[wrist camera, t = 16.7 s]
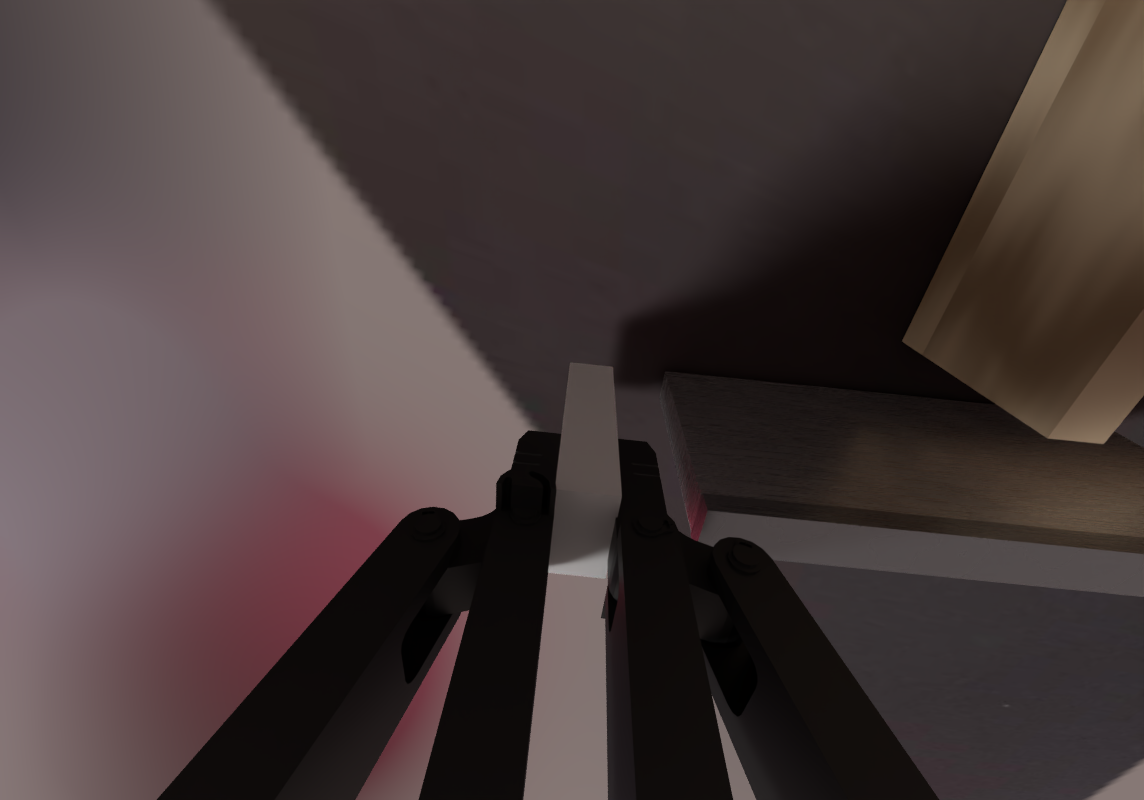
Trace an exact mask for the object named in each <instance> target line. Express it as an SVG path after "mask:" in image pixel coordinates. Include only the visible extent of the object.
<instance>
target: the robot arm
mask: <svg viewBox="0 0 1144 800" xmlns="http://www.w3.org/2000/svg"><path fill="white" fill-rule="evenodd" d="M607 569H608V586H607V591H606V596H605V601H604V606H603V611H602V616H601V618H605V627H606V692H607V757H608V758H607V759H608V800H733V797H732V792H731V787H730V782H729V778H728V772H727V768H726V763H725V758H724V753H723V748H722V743H721V738H720V733H719V729H718V724H717V719H716V714H715V709H714V704H713V699H712V696H713V698H714V700H715V703H716V705H717V708H718V710H719V713H720V715H721V717H722V720H723V722H724V724H725V726H726V729H727V731H728V734H729V736H730V738H731V741H732V743H733V746H734V748H735V750H736V753H737V755H738V757H739V760H740V762H741V764H742V767H743V769H744V771H745V774H746V776H747V779H748V781H749V783H750V785H751V788H752V790H753V793H754V795H755V797H756V800H939V799H938V797H937V796H936V794H935V793H934V791H933V790H932V789H931V787H930V786H929V784H928V783H927V781H926V780H925V778H924V777H923V776H922V774H921V773H920V771H919V770H918V768H917V767H916V765H915V764H914V763H913V761H912V760H911V758H910V757H909V755H908V754H907V753H906V751H905V750H904V748H903V747H902V745H901V744H900V742H899V741H898V740H897V738H896V737H895V735H894V734H893V732H892V731H891V730H890V728H889V727H888V725H887V724H886V722H885V721H884V719H883V718H882V717H881V715H880V714H879V712H878V711H877V709H876V708H875V706H874V705H873V704H872V702H871V701H870V699H869V698H868V696H867V695H866V694H865V692H864V691H863V689H862V688H861V686H860V685H859V683H858V682H857V681H856V679H855V678H854V676H853V675H852V673H851V672H850V671H849V669H848V668H847V666H846V665H845V663H844V662H843V660H842V659H841V658H840V656H839V655H838V653H837V652H836V650H835V649H834V647H833V646H832V645H831V643H830V642H829V640H828V639H827V637H826V636H825V635H824V633H823V632H822V630H821V629H820V627H819V626H818V624H817V623H816V622H815V620H814V619H813V617H812V616H811V614H810V613H809V612H808V610H807V609H806V607H805V606H804V604H803V603H802V601H801V600H800V599H799V597H798V596H797V594H796V593H795V591H794V590H793V588H792V587H791V586H790V584H789V583H788V581H787V580H786V578H785V577H784V576H783V574H782V573H781V571H780V570H779V568H778V567H777V565H776V564H775V563H774V561H773V560H772V558H771V557H770V556H769V555H768V554H767V553H766V552H765V551H764V550H763V549H762V548H761V547H759V546H758V545H756V544H755V543H753V542H751V541H748V540H745V539H742V538H737V537H727V538H724V539H720V540H719V541H718V542H717V543H716V544H715V545H714V547H712V546H710V545H707V544H704V543H701V542H699V541H696V540H694V539H691V538H689V537H687V536H685V535H684V534H682V533H681V532H679V531H678V529H677V527H676V524H675V522H674V521H673V520H672V519H671V518H670V517H669V516H668V515H667V511H666V506H665V500H664V495H663V490H662V484H661V479H660V474H659V468H658V463H657V458H656V453H655V452H654V450H653V449H652V448H651V447H650V445H649V444H648V443H647V442H643V441H634V440H624V439H618V434H617V419H616V405H615V391H614V376H613V367H609V366H599V365H590V364H581V363H572V362H570V367H569V376H568V384H567V392H566V401H565V409H564V417H563V426H562V434H557V433H548V432H539V431H527V432H526V433H525V434H524V435H523V436H522V437H521V438H520V439H519V441H518V445H517V449H516V454H515V456H514V460H513V464H512V468H511V470H509V471H507V472H506V473H504V474H503V475H501V476H500V478H499V480H498V481H497V483H496V509H495V510H494V511H492V512H491V513H489V514H487V515H484V516H482V517H477V518H473V519H467V520H459V519H458V518H457V517H456V515H455V514H454V513H453V512H451V511H449V510H447V509H445V508H437V507H429V508H421V509H419V510H417V511H414V512H412V513H410V514H408V515H407V516H406V517H405V518H404V519H402V520H401V521H400V522H399V524H398V525H397V526H396V527H395V528H394V529H393V530H392V532H391V533H390V534H389V535H388V536H387V537H386V538H385V540H384V541H383V542H382V543H381V544H380V545H379V547H378V548H377V549H376V550H375V551H374V552H373V553H372V554H371V556H370V557H369V558H368V559H367V560H366V562H364V564H363V565H362V566H361V567H360V568H359V569H358V570H357V572H356V573H355V574H354V575H353V576H352V577H351V578H350V580H349V581H348V582H347V583H346V584H345V585H344V586H343V588H342V589H341V590H340V591H339V592H338V593H337V594H336V596H335V597H334V598H333V599H332V600H331V601H330V602H329V604H328V605H327V606H326V607H325V608H324V609H323V610H322V612H321V613H320V614H319V615H318V616H317V617H316V618H315V620H314V621H313V622H312V623H311V624H310V625H309V626H308V628H307V629H306V630H305V631H304V632H303V633H302V634H301V636H300V637H299V638H298V639H297V640H296V641H295V642H294V644H293V645H292V646H291V647H290V648H289V649H288V650H287V652H286V653H285V654H284V655H283V656H282V657H281V658H280V660H279V661H278V662H277V663H276V664H275V665H274V666H273V667H272V669H271V670H270V671H269V672H268V673H267V675H265V677H264V678H263V679H262V680H261V681H260V682H259V683H258V685H257V686H256V687H255V688H254V689H253V690H252V691H251V693H250V694H249V695H248V696H247V697H246V699H245V700H244V701H243V702H242V703H241V704H240V705H239V706H238V707H237V709H236V710H235V711H234V712H233V713H232V715H231V716H230V717H229V718H228V719H227V720H226V721H225V722H224V723H223V725H222V726H221V727H220V728H219V729H218V730H217V731H216V733H215V734H214V735H213V736H212V737H211V738H210V740H209V741H208V742H207V743H206V744H205V745H204V746H203V747H202V749H201V750H200V751H199V752H198V753H197V754H196V756H195V757H194V758H193V759H192V760H191V761H190V762H189V763H188V765H187V766H186V767H185V768H184V769H183V770H182V771H181V773H180V774H179V775H178V776H177V777H176V778H175V780H174V781H173V782H172V783H171V784H170V785H169V786H168V787H167V789H166V790H165V791H164V792H163V793H162V794H161V796H160V797H159V798H158V799H157V800H355V799H356V797H357V796H358V794H359V792H360V790H361V789H362V787H363V785H364V783H365V782H366V780H367V778H368V776H369V775H370V773H371V771H372V769H373V767H374V766H375V764H376V762H377V760H378V759H379V756H380V755H381V753H382V752H383V750H384V748H385V746H386V745H387V743H388V741H389V739H390V737H391V736H392V734H393V732H394V731H395V729H396V727H397V725H398V724H399V721H400V720H401V718H402V717H403V715H404V713H405V711H406V710H407V708H408V706H409V704H410V702H411V701H412V699H413V697H414V695H415V694H416V692H417V690H418V688H419V687H420V685H421V683H422V681H423V679H424V678H425V676H426V674H427V672H428V671H429V669H430V667H431V666H432V664H433V662H434V660H435V658H436V657H437V655H438V653H439V651H440V649H441V648H442V646H443V644H444V643H445V641H446V639H447V637H448V636H449V634H450V632H451V630H452V629H453V627H454V625H455V623H456V622H457V620H458V618H459V616H460V614H461V612H463V611H468V610H469V614H468V617H467V621H466V625H465V629H464V632H463V636H462V640H461V644H460V647H459V651H458V655H457V659H456V662H455V666H454V670H453V674H452V677H451V681H450V685H449V688H448V692H447V696H446V699H445V703H444V707H443V711H442V715H441V718H440V722H439V726H438V729H437V734H436V737H435V741H434V744H433V748H432V752H431V756H430V759H429V763H428V767H427V770H426V774H425V778H424V782H423V785H422V789H421V793H420V797H419V800H523V796H524V788H525V779H526V770H527V760H528V751H529V742H530V733H531V724H532V715H533V706H534V696H535V688H536V679H537V678H536V677H537V669H538V660H539V651H540V642H541V633H542V624H543V614H544V605H545V596H546V586H547V577H548V573H556V574H566V575H575V576H585V577H594V578H604V579H605V578H606V573H607Z"/></svg>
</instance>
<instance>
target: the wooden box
mask: <svg viewBox="0 0 1144 800" xmlns="http://www.w3.org/2000/svg"><path fill="white" fill-rule="evenodd" d="M902 342H903V343H905V344H906V345H908V346H909V347H911V348H912V349H914V350H915V351H917V352H918V353H920V354H921V355H923V356H924V357H926V358H927V359H929V360H930V361H932V362H933V363H935V364H936V365H938V366H939V367H941V368H942V369H944V370H945V371H947V372H948V373H950V374H951V375H953V376H954V377H956V378H957V379H959V380H960V381H962V382H963V383H965V384H966V385H968V386H969V387H971V388H972V389H974V390H975V391H977V392H978V393H980V394H981V395H983V396H984V397H986V398H987V399H989V400H990V401H992V402H993V403H995V404H996V405H998V406H999V407H1001V408H1002V409H1004V410H1005V411H1007V412H1008V413H1010V414H1011V415H1013V416H1014V417H1016V418H1017V419H1019V420H1020V421H1022V422H1023V423H1025V424H1026V425H1028V426H1029V427H1031V428H1033V429H1034V430H1036V431H1037V432H1039V433H1040V434H1042V435H1043V436H1045V437H1046V438H1048V439H1058V440H1068V441H1078V442H1088V443H1098V444H1104V443H1105V442H1106V441H1107V439H1108V438H1109V437H1110V436H1111V435H1112V433H1113V432H1114V431H1115V430H1116V428H1117V427H1118V426H1119V425H1120V424H1121V422H1122V421H1123V420H1124V419H1125V418H1126V416H1127V415H1128V414H1129V413H1130V411H1131V410H1132V409H1133V408H1134V407H1135V405H1136V404H1137V403H1138V402H1139V401H1140V399H1141V398H1142V397H1143V396H1144V0H1067V2H1066V4H1065V6H1064V8H1063V10H1062V12H1061V14H1060V17H1059V19H1058V21H1057V23H1056V25H1055V27H1054V29H1053V31H1052V33H1051V35H1050V37H1049V39H1048V41H1047V43H1046V45H1045V47H1044V49H1043V52H1042V54H1041V56H1040V58H1039V60H1038V62H1037V64H1036V66H1035V68H1034V70H1033V72H1032V74H1031V76H1030V78H1029V80H1028V82H1027V85H1026V87H1025V89H1024V91H1023V93H1022V95H1021V97H1020V99H1019V101H1018V103H1017V105H1016V107H1015V109H1014V111H1013V113H1012V115H1011V117H1010V120H1009V122H1008V124H1007V126H1006V128H1005V130H1004V132H1003V134H1002V136H1001V138H1000V140H999V142H998V144H997V146H996V148H995V150H994V153H993V155H992V157H991V159H990V161H989V163H988V165H987V167H986V169H985V171H984V173H983V175H982V177H981V179H980V181H979V183H978V185H977V188H976V190H975V192H974V194H973V196H972V198H971V200H970V202H969V204H968V206H967V208H966V210H965V212H964V214H963V216H962V218H961V221H960V223H959V225H958V227H957V229H956V231H955V233H954V235H953V237H952V239H951V241H950V243H949V245H948V247H947V249H946V251H945V254H944V256H943V258H942V260H941V262H940V264H939V266H938V268H937V270H936V272H935V274H934V276H933V278H932V280H931V282H930V284H929V286H928V289H927V291H926V293H925V295H924V297H923V299H922V301H921V303H920V305H919V307H918V309H917V311H916V313H915V315H914V317H913V319H912V322H911V324H910V326H909V328H908V330H907V332H906V334H905V336H904V338H903V340H902Z"/></svg>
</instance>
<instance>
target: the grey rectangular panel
mask: <svg viewBox="0 0 1144 800" xmlns="http://www.w3.org/2000/svg"><path fill="white" fill-rule="evenodd" d="M659 399H660V403H661V407H662V411H663V415H664V420H665V424H666V428H667V432H668V436H669V441H670V445H671V449H672V453H673V457H674V461H675V466H676V470H677V474H678V478H679V482H680V487H681V491H682V495H683V499H684V503H685V507H686V512H687V516H688V520H689V524H690V528H691V533H690V535H691V539H694V540H696V541H699V542H701V543H704V544H707V545H710V546H712V547H714V545H715V544H716V543H717V542H718V541H719V540H720V539H724V538H727V537H737V538H742V539H745V540H748V541H751V542H753V543H755V544H756V545H758V546H759V547H761V548H762V549H763V550H764V551H765V552H766V553H767V554H768V555H769V556H770V557H771V558H772V560H780V561H790V562H800V563H810V564H820V565H830V566H840V567H850V568H860V569H870V570H880V571H890V572H900V573H910V574H920V575H930V576H940V577H950V578H960V579H970V580H980V581H990V582H1000V583H1010V584H1020V585H1030V586H1040V587H1050V588H1060V589H1070V590H1080V591H1090V592H1100V593H1110V594H1120V595H1130V596H1140V597H1144V448H1143V447H1141V446H1140V445H1138V444H1136V443H1134V442H1133V441H1131V440H1129V439H1127V438H1125V437H1124V436H1122V435H1120V434H1118V433H1117V432H1115V431H1114V432H1113V433H1112V435H1111V436H1110V437H1109V438H1108V439H1107V441H1106V442H1105V443H1104V444H1098V443H1088V442H1078V441H1068V440H1058V439H1048V438H1046V437H1045V436H1043V435H1042V434H1040V433H1039V432H1037V431H1036V430H1034V429H1033V428H1031V427H1029V426H1028V425H1026V424H1025V423H1023V422H1022V421H1020V420H1019V419H1017V418H1016V417H1014V416H1013V415H1011V414H1010V413H1008V412H1007V411H1005V410H1004V409H1002V408H1001V407H999V406H998V405H996V404H986V403H976V402H966V401H956V400H946V399H936V398H926V397H916V396H906V395H896V394H887V393H877V392H867V391H857V390H847V389H837V388H827V387H817V386H807V385H797V384H787V383H777V382H767V381H758V380H748V379H738V378H728V377H718V376H708V375H698V374H688V373H678V372H668V371H665V375H664V379H663V384H662V389H661V393H660V398H659Z"/></svg>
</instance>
